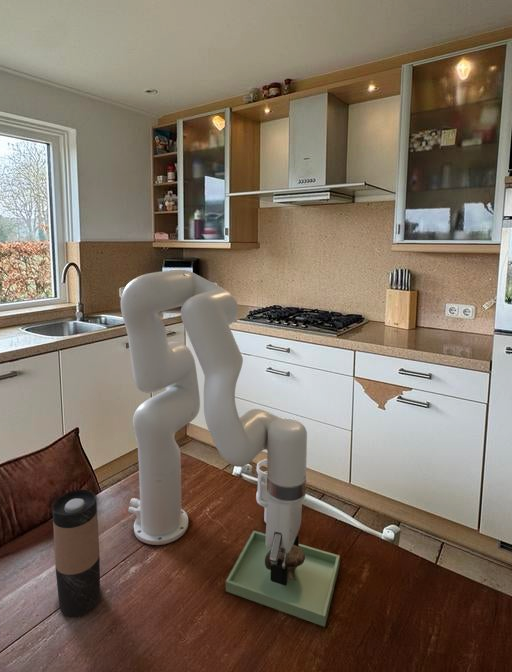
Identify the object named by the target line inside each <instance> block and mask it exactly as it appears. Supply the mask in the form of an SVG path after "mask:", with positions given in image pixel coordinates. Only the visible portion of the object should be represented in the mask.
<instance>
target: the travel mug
mask: <svg viewBox="0 0 512 672" xmlns="http://www.w3.org/2000/svg"><path fill="white" fill-rule="evenodd" d="M98 519H99V518H98V503H97V496H96V494H95V493H94V492H93V491H91V490H88V489H75V490H71V491H68V492H66V493H63V494H62V495H60V496H59V497H58V498H56V499H55V501H54V502H53V504H52V527H53V528H52V529H53V548H54V563H55V564H54V567H55V576H56V577H55V578H56V587H57V596H58V597H57V598H58V606H59V610H60V612H61V613H62V614H63V615H64V616H66V617H72V618H73V617H75V618H76V617H79V616H83V615H85V614H87V613H89V612H90V611H91V610H93V609H94V608H95V607H96V605H97V604H98V602H99V600H100V595H101V572H100V571H101V570H100V569H101V568H100V566H101V565H100V563H101V561H100V560H101V559H100V556H101V555H100V540H99V538H100V537H99V520H98Z"/></svg>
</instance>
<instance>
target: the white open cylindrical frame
mask: <svg viewBox="0 0 512 672" xmlns="http://www.w3.org/2000/svg"><path fill="white" fill-rule="evenodd" d="M265 465H267V458H263V459H261V460H260V461H258V462H257V463H256V473H257V491H256V494H255V500H256V503H257V504H258V505H259V506H261V507H263V508H264V513H263V514H264V515H263V516H264V517H263V519H264V520H263V521H264V523H265V524H266V521H267V510H268V503H269V498H270V496H269V495H268V493H267V470H265V471H263V470H262V469H260V468H262V467H263V466H265Z"/></svg>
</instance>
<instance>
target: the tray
mask: <svg viewBox="0 0 512 672" xmlns="http://www.w3.org/2000/svg"><path fill="white" fill-rule="evenodd" d="M265 538H266V533H263V532H260V531H257V530H253V531H252V533H251V535H250V536H249V537H248V540H247V541H246V544H245V545H244V547H243V549H242V550H241V553H240V554H239V556H238V558H237V559H236V562H235V563H234V565H233V567H232V569H231V571H230V573H229V574H228V577H226V580H225V592H227V593H230V594H232V595H234V596H238V597H241V598H243V599H246V600H249V601H252V602H255V603H257V604H259V605H262V606H266V607H269V608H272V609H273V610H277V611H278V612H283V613H285V614H287V615H291V616H293V617H295V618H298V619H301V620H305V621H307V622H310V623H313V624H315V625H318V626H321V627H324V628H325V627H326V625H327V621H328V616H329V611H330V607H331V604H332V599H333V595H334V590H335V586H336V582H337V577H338V573H339V568H340V565H341V564H340V563H341V555H339V554H336V553H332V552H330V551H325V550H321V549H318V548H316V547H311V546H308V545H305V544H301V543H299V548H300V549H302V551H303V552H304V554H305V560H304V563H303V564H302V565H300V566H298V567H297V568H296V570H295V578H296V581H294V580H290V579H287V585H286V586H284V585H281V584H278V583H275V582H272V581H271V570H268V569H267V568H266V566H265V558H266V555H267V553H268V552H269V551H270V550H271V549H272V546H273V544H272V546H271V548H270V549H269V548H266V545H265ZM281 545H282V544H281Z"/></svg>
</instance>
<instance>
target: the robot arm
mask: <svg viewBox="0 0 512 672" xmlns="http://www.w3.org/2000/svg"><path fill="white" fill-rule="evenodd" d="M180 307H181V309H180V318H181V322H182V324H183V327H184V329H185V331H186V334H187V336H188V338H189V341H190V343H191V346H192V348H193V351H194V353H195V355H196V358H197V360H198V363H199V365H200V367H201V370H202V372H203V375H204V384H203V414H204V419H205V423H206V427H207V430H208V432H209V434H210V436H211V440H212V442H213V443H214V446H215V449H216V450H217V452H218V453H219V455H220V457H221V458H222V459H223V460H224V461H225V462H226V463H227V464H228V465H230V466H233V467H238V468H239V467H240V468H241V467H245V466H247V465H249V464H250V463H252V461H254V459H255V458H257V457H258V456H259V454H260V453H261V452H262V451H266V453H267V456H266V459H267V464H266V471H267V493H268V495H269V496H270V498H269V503H268V510H267V521H266V523H265V534H266V538H265V545H266V548H269V549H270V548H271V546H272V544H273V546H272V550H271V554H270V564H271V581H272V582H275V583H278V584H281V585H284V586H286V585H287V575H288V565H286V560H287V553H289V552H290V550H291V548H292V546H293V545H295V546H297V547H299V544H300V536H299V533H300V528H301V525H302V519H303V518H302V517H303V516H302V515H303V499H305V497H306V493H307V455H308V454H307V453H308V432H307V428H306V426H305V425H304V424H303V423H301V422H300V421H298V420H295V419H290V418H282V417H280V416H277V415H275V414H273V413H270V412H268V411H266V410H264V409H260V408H253V409H252V408H251V409H250V410H248V411H246V412H245V413H244V414H242V415H241V416H239V412H238V410H237V405H236V387H237V382H238V379H239V376H240V373H241V371H242V367H243V363H244V357H243V355H242V353H241V351H240V349H239V346H238V344H237V341H236V339H235V337H234V335H233V332H232V329H231V327H230V326H231V325H232V324H233V323H234V322H235V321H236V320H237V319H238V315H239V305H238V302H237V300H236V298H235V297H234V295H233V294H232V293H231V292H230V291H228V290H226V289H225V288H223V287H221V286H220V285H218V284H216V283H214V282H212V281H210V280H208V279H206V278H204V277H202V276H201V275H198V274H197V273H195V272H193V271H191V270H186V269H174V270H173V269H172V270H165V271H154V272H150V273H149V272H148V273H145V274H141V275H139V276H137V277H135V278H132V280H130V281H129V282H128V283H127V284H126V286H125V287H124V289H123V291H122V294H121V296H120V311H121V316H122V320H123V322H124V326H125V330H126V334H127V340H128V349H129V357H130V362H131V369H132V376H133V381H134V383H135V385H136V387H137V389H138V390H139V391H140V392H142V393H145V394H153V393H156V392H159V391H161V390H164V389H165V390H164V391H161V392H159V393H157V394H155V395H154V396H151V397H149V398H147V399H146V400H144V401H143V402H142V403H141V404H139V406H138V407H137V408H136V410H135V411H134V414H133V416H132V426H133V431H134V435H135V440H136V445H137V455H138V482H139V483H138V484H139V499H138V498H135V497H132V498H130V501H129V507H128V509H127V513H128V514H132V515H135V520H134V523H133V532H134V536H135V537H136V538H137V540H139V541H140V542H142V543H144V544H147V545H152V546H162V545H167V544H170V543H173V542H175V541H177V540H178V539H180V538H181V537H182V536H184V534H186V531H187V530H188V528H189V516H188V514H187V512H186V511H185V510H184V509H183V508H182V458H181V457H182V455H181V448H180V446H179V445H178V443H177V441H176V439H175V435H176V434H177V432H178V431H180V430H181V429H182V428H184V427H185V426H187V425H189V424H190V423H192V421H194V420H195V419H196V418H197V417H198V414H199V413H200V410H201V396H200V388H199V379H198V373H197V365H196V361H195V357H194V355H193V353H192V351H191V349H190V348H189V347H188V346H187V345H186V344H184V343H182V342H180V341H177V340H176V341H168V333H167V329H166V326H165V323H164V322H163V320H162V318H161V316H160V315H158V314H159V313H160V312H163V311H167V310H168V311H169V310H171V309H172V310H173V309H176V308H180ZM281 544H282V545H283V547H284V548H282V547H280V546H281ZM279 552H283V559H282V560H281V559H279Z"/></svg>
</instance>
